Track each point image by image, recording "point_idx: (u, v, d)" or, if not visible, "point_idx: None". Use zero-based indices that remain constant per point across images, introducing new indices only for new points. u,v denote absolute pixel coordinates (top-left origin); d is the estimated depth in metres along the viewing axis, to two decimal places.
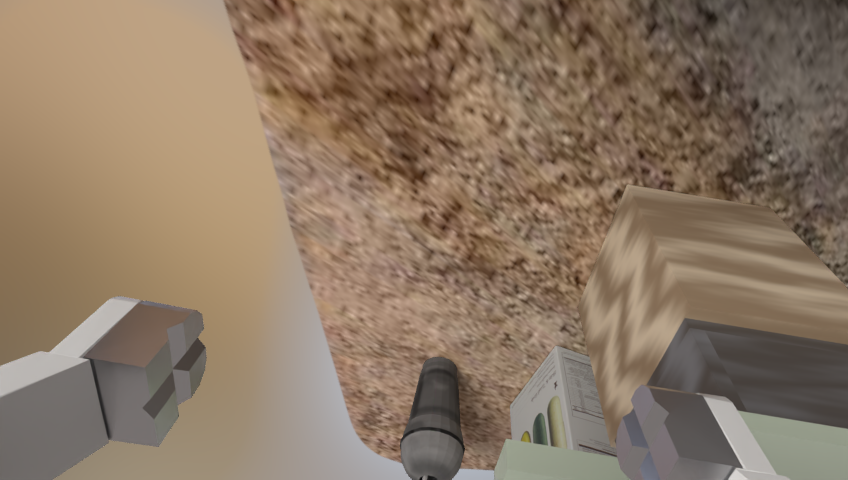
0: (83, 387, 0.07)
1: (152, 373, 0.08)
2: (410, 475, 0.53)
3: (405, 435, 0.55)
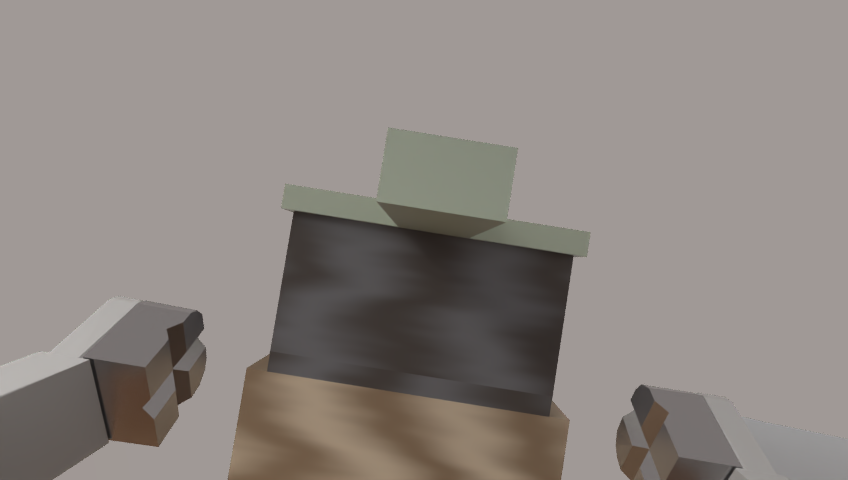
0: (83, 387, 0.07)
1: (152, 373, 0.08)
2: None
3: None
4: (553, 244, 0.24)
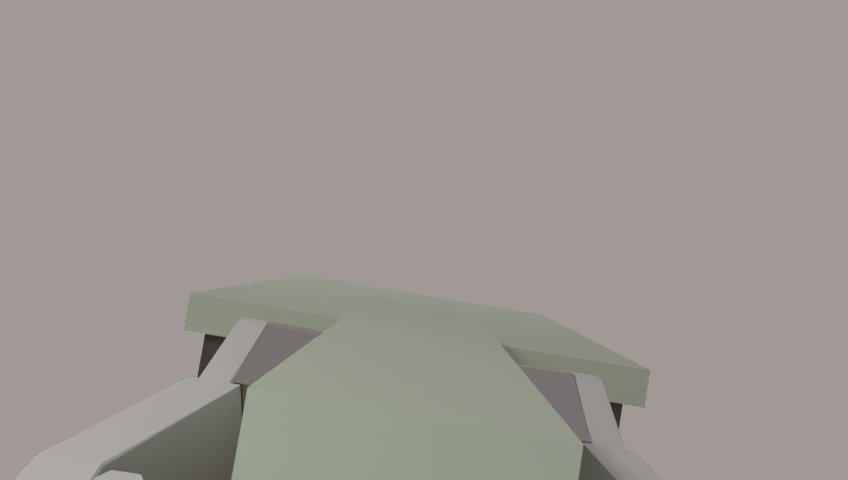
0: (232, 412, 0.07)
1: None
2: None
3: None
4: None
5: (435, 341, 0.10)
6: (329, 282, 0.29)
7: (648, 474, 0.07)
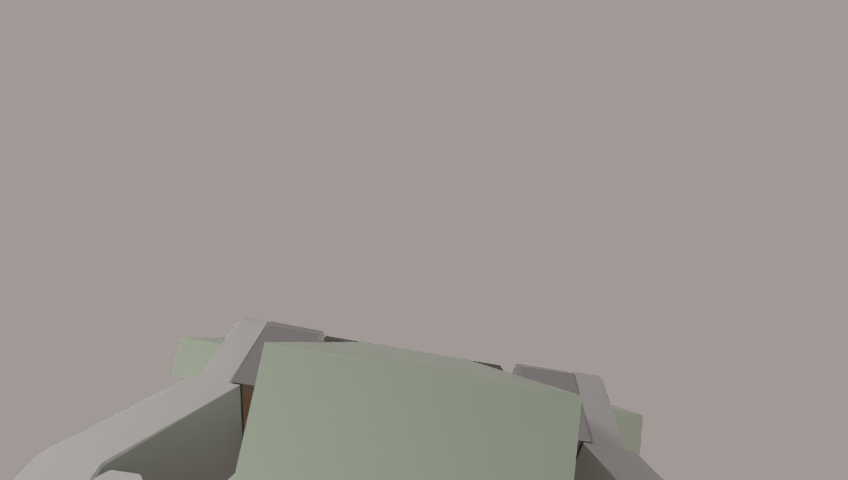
0: (232, 412, 0.07)
1: None
2: None
3: None
4: None
5: (432, 358, 0.10)
6: None
7: (649, 474, 0.07)
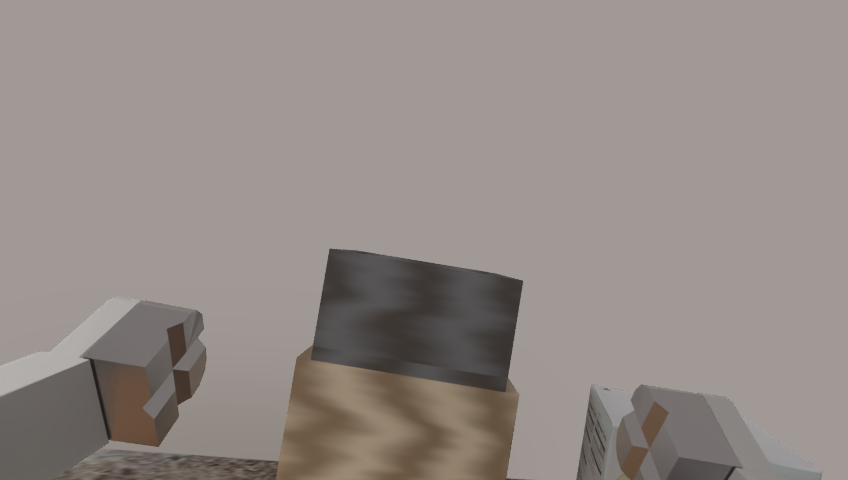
0: (83, 387, 0.07)
1: (152, 373, 0.08)
2: None
3: None
4: None
5: None
6: None
7: None
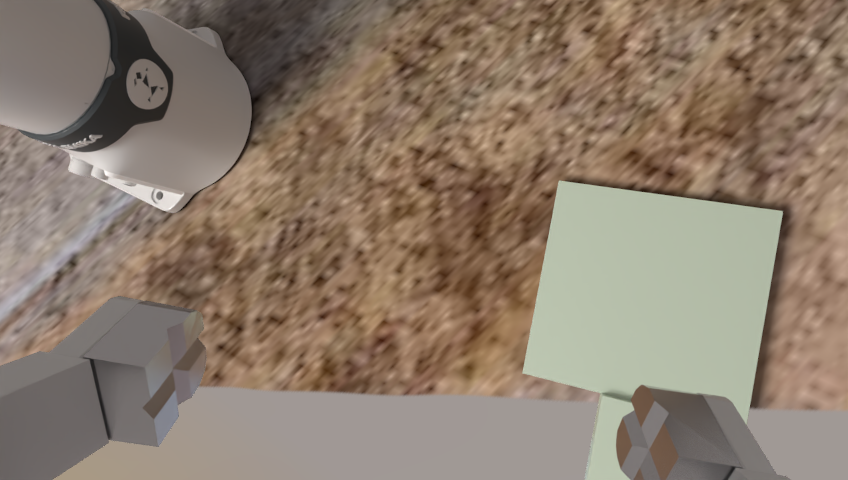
0: (83, 387, 0.07)
1: (152, 373, 0.08)
2: None
3: None
4: None
5: None
6: (581, 210, 0.38)
7: None
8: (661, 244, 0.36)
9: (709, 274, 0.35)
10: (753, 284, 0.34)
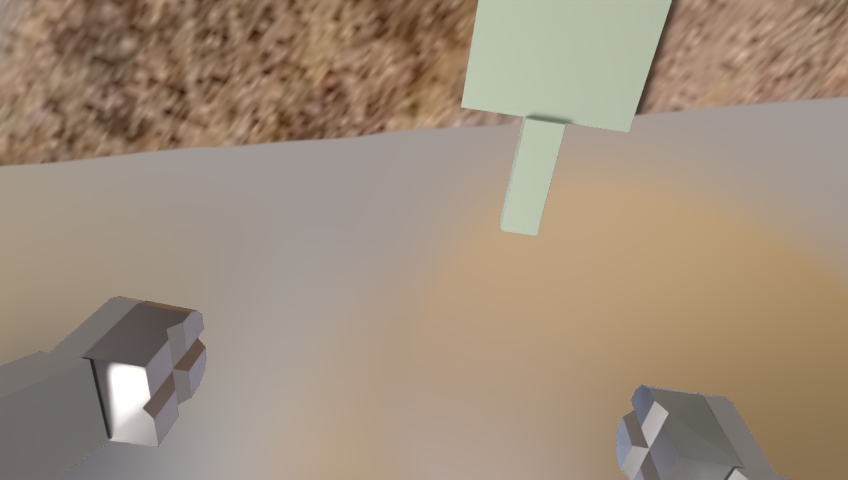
0: (83, 387, 0.07)
1: (152, 373, 0.08)
2: None
3: None
4: None
5: (533, 188, 0.47)
6: None
7: None
8: None
9: (621, 4, 0.40)
10: (655, 11, 0.40)
